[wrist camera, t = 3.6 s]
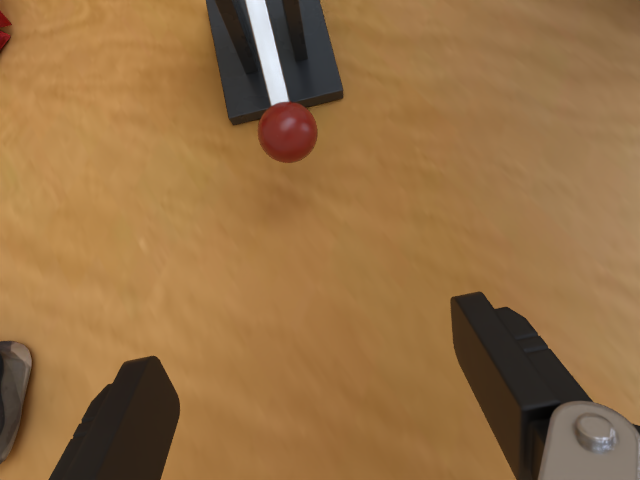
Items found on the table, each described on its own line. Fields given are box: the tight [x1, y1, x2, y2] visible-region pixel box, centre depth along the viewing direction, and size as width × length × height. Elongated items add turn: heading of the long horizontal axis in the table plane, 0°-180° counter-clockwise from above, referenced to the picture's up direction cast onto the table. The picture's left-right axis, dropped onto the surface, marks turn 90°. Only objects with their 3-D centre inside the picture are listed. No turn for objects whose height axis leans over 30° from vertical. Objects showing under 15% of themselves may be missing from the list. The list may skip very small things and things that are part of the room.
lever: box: [245, 0, 318, 163], centre depth 22 cm, size 15×3×3 cm, turn 12°
